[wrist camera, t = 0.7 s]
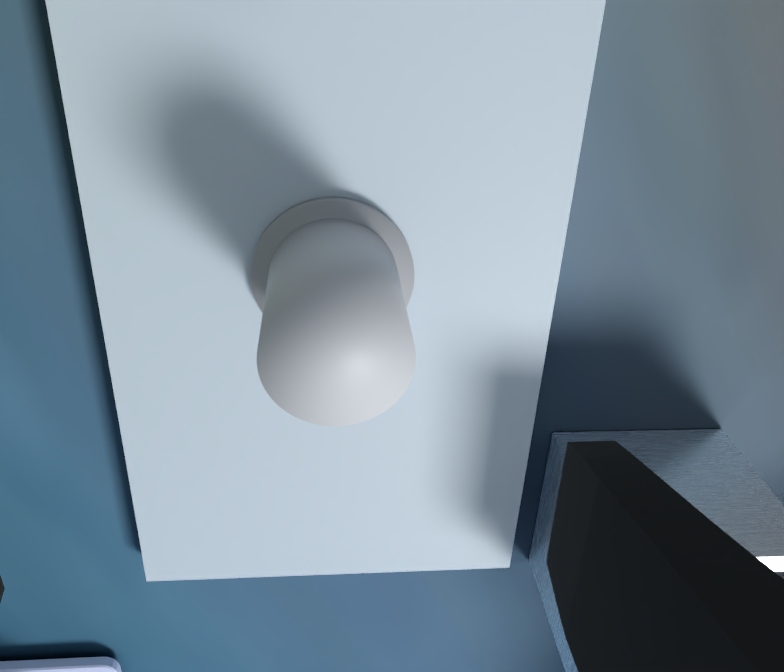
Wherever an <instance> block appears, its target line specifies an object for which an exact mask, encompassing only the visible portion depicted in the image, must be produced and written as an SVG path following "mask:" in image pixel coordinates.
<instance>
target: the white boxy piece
mask: <svg viewBox="0 0 784 672" xmlns="http://www.w3.org/2000/svg"><path fill="white" fill-rule="evenodd" d="M609 440H615V441H616V442H618V443H619V444H620V445H621V446H623V447H624V448H625V449H627V450H628V451H629V452H630V453H631V454H633V455H634V456H635V457H636V458H637V459H639V460H640V461H641V462H642V463H643V464H645V465H646V466H647V467H648V468H649V469H651V470H652V471H653V472H654V473H655V474H656V475H658V476H659V477H660V478H661V479H662V480H664V481H665V482H666V483H667V484H668V485H669V486H671V487H672V488H673V489H674V490H675V491H676V492H678V493H679V494H680V495H681V496H682V497H684V498H685V499H686V500H687V501H688V502H690V503H691V504H692V505H693V506H694V507H695V508H697V509H698V510H699V511H700V512H701V513H703V514H704V515H705V516H706V517H707V518H709V519H710V520H711V521H712V522H713V523H715V524H716V525H717V526H718V527H719V528H721V529H722V530H723V531H724V532H725V533H727V534H728V535H729V536H730V537H732V538H733V539H734V540H735V541H736V542H738V543H739V544H740V545H741V546H743V547H744V548H745V549H746V550H748V551H749V552H750V553H751V554H753V555H754V556H755V557H756V558H758V559H759V560H760V561H761V562H763V563H764V564H765V565H766V566H768V567H769V568H770V569H772V570H773V571H774V572H775V573H777V574H778V575H779V576H781V577H782V578H783V579H784V505H783V504H782V503H781V501H780V500H779V499H778V498H777V497H776V495H775V494H774V493H773V492H772V490H771V489H770V488H769V487H768V485H767V484H766V483H765V482H764V480H763V479H762V478H761V477H760V475H759V474H758V473H757V472H756V470H755V469H754V468H753V467H752V466H751V464H750V463H749V462H748V461H747V459H746V458H745V457H744V456H743V454H742V453H741V452H740V451H739V449H738V448H737V447H736V446H735V444H734V443H733V442H732V441H731V439H730V438H729V437H728V436H727V435H726V433H725V432H724V431H723V430H722V429H696V430H645V431H593V432H552V438H551V443H550V448H549V454H548V459H547V465H546V470H545V475H544V481H543V486H542V491H541V497H540V502H539V507H538V513H537V518H536V523H535V529H534V534H533V540H532V545H531V550H530V556H529V564H530V567H531V570H532V573H533V576H534V579H535V582H536V585H537V588H538V591H539V594H540V597H541V600H542V603H543V606H544V609H545V612H546V615H547V618H548V621H549V624H550V627H551V630H552V633H553V636H554V639H555V642H556V645H557V648H558V651H559V654H560V657H561V660H562V663H563V666H564V669H565V672H578V670H577V667H576V665H575V662H574V659H573V657H572V654H571V651H570V648H569V646H568V643H567V640H566V638H565V634H564V630H563V626H562V623H561V619H560V615H559V611H558V607H557V604H556V600H555V596H554V591H553V587H552V583H551V579H550V575H549V571H548V566H547V562H546V559H547V553H548V548H549V542H550V537H551V531H552V525H553V520H554V514H555V509H556V503H557V497H558V492H559V486H560V481H561V475H562V469H563V464H564V458H565V453H566V447H567V442H581V441H609Z"/></svg>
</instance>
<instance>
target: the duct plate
mask: <svg viewBox="0 0 784 672" xmlns="http://www.w3.org/2000/svg"><path fill="white" fill-rule="evenodd" d="M45 1H46V7H47V13H48V19H49V24H50V30H51V36H52V42H53V47H54V53H55V59H56V65H57V70H58V76H59V82H60V87H61V93H62V99H63V105H64V110H65V116H66V122H67V128H68V133H69V139H70V145H71V151H72V156H73V162H74V168H75V173H76V179H77V185H78V191H79V196H80V202H81V208H82V214H83V219H84V225H85V231H86V237H87V242H88V248H89V254H90V259H91V265H92V271H93V277H94V282H95V288H96V294H97V300H98V305H99V311H100V317H101V323H102V328H103V334H104V340H105V346H106V351H107V357H108V363H109V368H110V374H111V380H112V386H113V391H114V397H115V403H116V409H117V414H118V420H119V426H120V432H121V437H122V443H123V449H124V454H125V460H126V466H127V472H128V477H129V483H130V489H131V495H132V500H133V506H134V512H135V518H136V523H137V529H138V535H139V540H140V546H141V552H142V558H143V563H144V569H145V575H146V581H169V580H195V579H222V578H248V577H274V576H301V575H327V574H353V573H379V572H406V571H432V570H458V569H485V568H509V567H510V561H511V555H512V549H513V544H514V538H515V532H516V526H517V520H518V514H519V508H520V502H521V497H522V491H523V485H524V479H525V473H526V467H527V461H528V455H529V449H530V444H531V438H532V432H533V426H534V420H535V414H536V408H537V402H538V397H539V391H540V385H541V379H542V373H543V367H544V361H545V355H546V349H547V344H548V338H549V332H550V326H551V320H552V314H553V308H554V302H555V297H556V291H557V285H558V279H559V273H560V267H561V261H562V255H563V249H564V244H565V238H566V232H567V226H568V220H569V214H570V208H571V202H572V197H573V191H574V185H575V179H576V173H577V167H578V161H579V155H580V149H581V144H582V138H583V132H584V126H585V120H586V114H587V108H588V102H589V97H590V91H591V85H592V79H593V73H594V67H595V61H596V55H597V49H598V44H599V38H600V32H601V26H602V20H603V14H604V8H605V2H606V0H45Z"/></svg>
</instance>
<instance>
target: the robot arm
mask: <svg viewBox="0 0 784 672" xmlns="http://www.w3.org/2000/svg"><path fill="white" fill-rule="evenodd" d="M546 562H547V566H548V571H549V575H550V579H551V583H552V587H553V591H554V596H555V600H556V604H557V607H558V611H559V615H560V619H561V623H562V626H563V630H564V634H565V638H566V640H567V643H568V646H569V648H570V651H571V654H572V657H573V659H574V662H575V665H576V667H577V670H578V672H784V579H783V578H782V577H781V576H779V575H778V574H777V573H775V572H774V571H773V570H772V569H770V568H769V567H768V566H766V565H765V564H764V563H763V562H761V561H760V560H759V559H758V558H756V557H755V556H754V555H753V554H751V553H750V552H749V551H748V550H746V549H745V548H744V547H743V546H741V545H740V544H739V543H738V542H736V541H735V540H734V539H733V538H732V537H730V536H729V535H728V534H727V533H725V532H724V531H723V530H722V529H721V528H719V527H718V526H717V525H716V524H715V523H713V522H712V521H711V520H710V519H709V518H707V517H706V516H705V515H704V514H703V513H701V512H700V511H699V510H698V509H697V508H695V507H694V506H693V505H692V504H691V503H690V502H688V501H687V500H686V499H685V498H684V497H682V496H681V495H680V494H679V493H678V492H676V491H675V490H674V489H673V488H672V487H671V486H669V485H668V484H667V483H666V482H665V481H664V480H662V479H661V478H660V477H659V476H658V475H656V474H655V473H654V472H653V471H652V470H651V469H649V468H648V467H647V466H646V465H645V464H643V463H642V462H641V461H640V460H639V459H637V458H636V457H635V456H634V455H633V454H631V453H630V452H629V451H628V450H627V449H625V448H624V447H623V446H621V445H620V444H619V443H618V442H616V441H615V440H609V441H581V442H567V447H566V453H565V458H564V464H563V469H562V475H561V481H560V486H559V492H558V497H557V503H556V509H555V514H554V520H553V525H552V531H551V537H550V542H549V548H548V553H547V559H546ZM4 589H5V588H4V585H3V582H2V579H1V576H0V602H1V599H2V595H3V592H4ZM0 672H122V671H121V667H120V664H119V663H118V662H117V661H116V660H115V659H113V658H110V657H104V656H102V657H81V658H60V659H39V660H18V661H0Z"/></svg>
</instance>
